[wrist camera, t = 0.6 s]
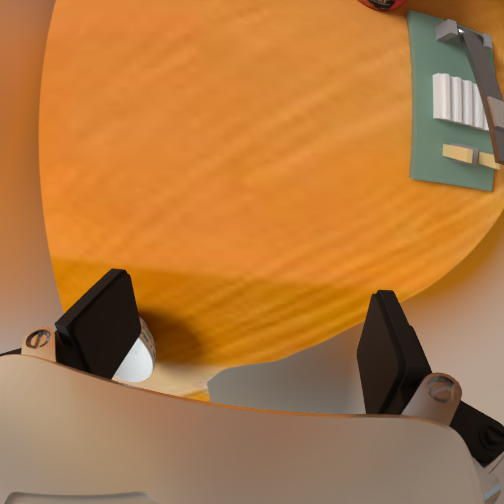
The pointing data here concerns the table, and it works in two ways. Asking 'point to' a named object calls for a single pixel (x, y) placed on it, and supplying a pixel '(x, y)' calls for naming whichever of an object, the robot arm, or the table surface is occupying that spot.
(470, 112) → the clamp board
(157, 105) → the table surface
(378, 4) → the canned food
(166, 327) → the table surface
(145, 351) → the chinaware
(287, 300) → the table surface
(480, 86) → the grey hinged clamp lever
